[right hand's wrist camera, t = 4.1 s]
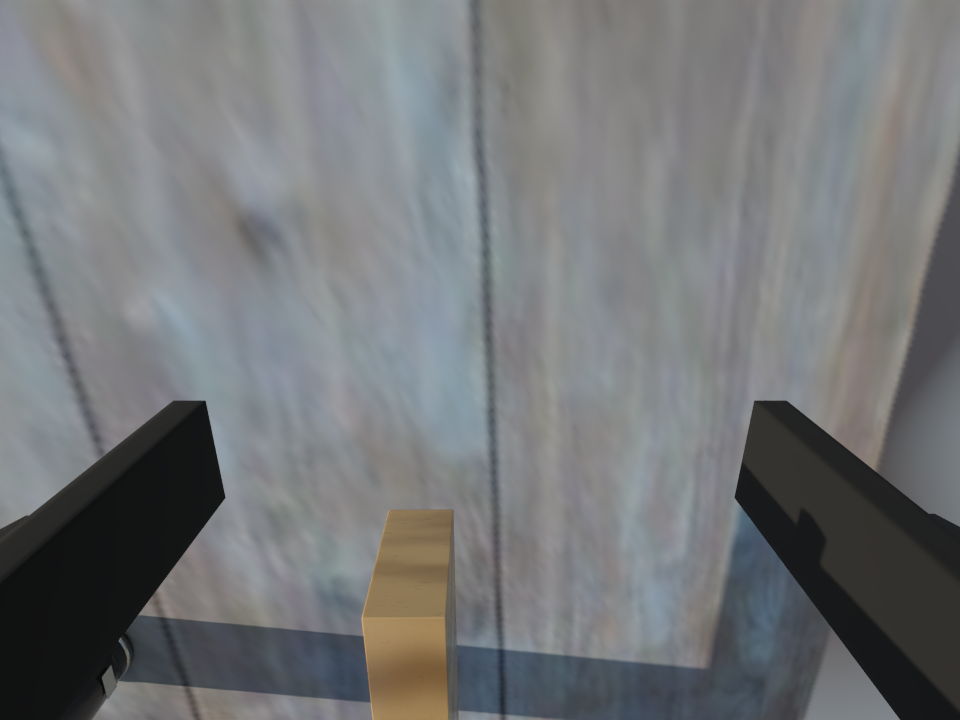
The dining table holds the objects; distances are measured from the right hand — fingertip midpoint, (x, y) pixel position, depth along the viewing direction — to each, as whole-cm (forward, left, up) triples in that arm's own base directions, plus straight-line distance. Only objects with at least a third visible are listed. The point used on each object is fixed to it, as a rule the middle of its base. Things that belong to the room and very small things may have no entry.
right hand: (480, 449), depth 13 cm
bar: (+17, +22, -19) cm, 33 cm away
